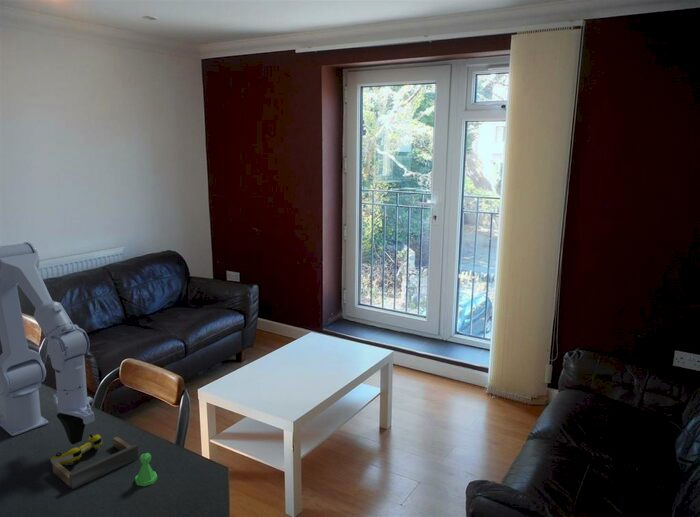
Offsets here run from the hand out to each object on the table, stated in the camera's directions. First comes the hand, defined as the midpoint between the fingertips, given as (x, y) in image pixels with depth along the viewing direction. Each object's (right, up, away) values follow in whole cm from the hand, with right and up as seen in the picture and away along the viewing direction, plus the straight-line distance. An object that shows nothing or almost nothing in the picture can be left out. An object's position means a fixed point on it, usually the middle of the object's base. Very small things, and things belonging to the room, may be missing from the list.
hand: (75, 441), depth 117 cm
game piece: (+19, -5, -9) cm, 22 cm away
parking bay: (+6, -3, -4) cm, 8 cm away
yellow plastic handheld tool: (+2, -3, -2) cm, 4 cm away
